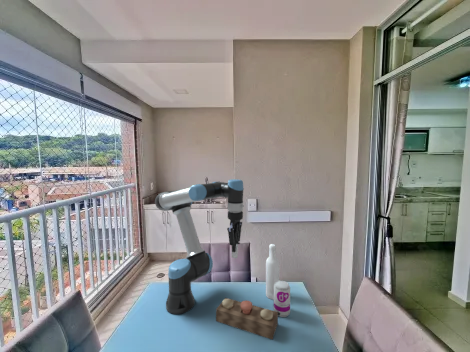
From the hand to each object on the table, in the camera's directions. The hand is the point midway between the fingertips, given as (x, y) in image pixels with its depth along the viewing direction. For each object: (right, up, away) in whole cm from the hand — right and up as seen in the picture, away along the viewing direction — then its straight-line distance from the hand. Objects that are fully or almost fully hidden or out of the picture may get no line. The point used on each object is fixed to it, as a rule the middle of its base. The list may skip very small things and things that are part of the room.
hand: (234, 257), depth 109 cm
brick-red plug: (+6, -27, -4) cm, 28 cm away
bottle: (+22, -29, +17) cm, 40 cm away
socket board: (+6, -30, -4) cm, 31 cm away
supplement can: (+24, -30, +3) cm, 39 cm away
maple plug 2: (+15, -29, -8) cm, 34 cm away
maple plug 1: (-3, -29, 0) cm, 29 cm away
